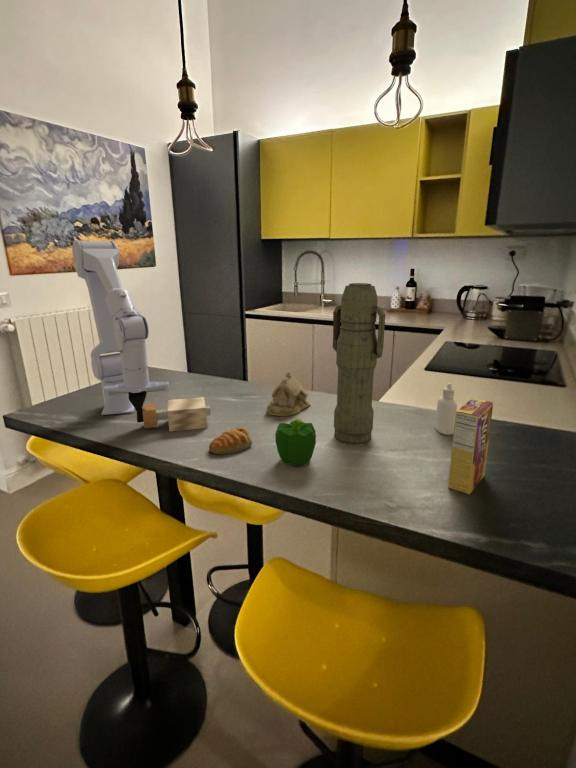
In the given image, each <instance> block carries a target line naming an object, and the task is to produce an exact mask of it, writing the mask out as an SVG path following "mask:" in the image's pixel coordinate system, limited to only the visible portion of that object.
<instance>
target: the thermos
mask: <svg viewBox="0 0 576 768" xmlns="http://www.w3.org/2000/svg"><path fill="white" fill-rule="evenodd" d="M340 299H341V300H340V305H337V306H336V307H335V309H334V310H333V314H332V315H333V316H332V324H333V325H332V329H333V330H332V331H333V332H332V335H333V336H332V349H333V350H334V352H336V357H335V358H336V359H335V360H336V361H335V364H336V366H337V395H336V405H335V407H334V410H333V412H334V413H333V428H334V435H333V437H334V440H336V441H337V442H338V443H340V444H344V445H346V446H347V445H348V446H362V445H366V444H368V443H370V442H371V441H372V432H373V428H374V416H375V415H374V407H373V389H374V374H375V368H376V366H377V361H378V360H377V359H380V358H382V356H383V352H384V341H385V339H384V338H385V327H386V326H385V325H386V314H385V312H384V310H383V308H382V307H381V308H380V306H378V301H379V300H378V299H379V298H378V295H377V289H376V287H375V285H372V283H368V282H367V283H364V282H363V283H362V282H352V283H349V284H348V285H345V287H344V289H343V292H342V296H341V298H340ZM377 315H378V317H379V318H378V329H376V323H377ZM376 332H377V334H376Z"/></svg>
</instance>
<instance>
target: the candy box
mask: <svg viewBox="0 0 576 768" xmlns="http://www.w3.org/2000/svg"><path fill="white" fill-rule="evenodd" d="M493 408H494V402H493V401H488V400H483V399H479V398H471V399H469V400H468V401H467V402H466V403H465V404H464V405H462V406H461V407H460V408H457V411H456V414H455V425H454V433H453V434H452V435H453V436H452V445H451V454H450V464H449V465H450V466H449V474H448V485H447V487H448V489H452V490H454V491H457V492H460V493H463V494H465V495H471V493H472V492H473V491H474V490H475V488H476V487H477V486H478V484H479V483H480V482H481V481H482V480H483V478H484V477H485V474H486V467H487V466H486V465H487V459H488V450H489V449H488V448H489V442H490V433H491V426H492V417H493Z"/></svg>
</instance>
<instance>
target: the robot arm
mask: <svg viewBox="0 0 576 768" xmlns="http://www.w3.org/2000/svg"><path fill="white" fill-rule="evenodd" d="M71 247H72V248H71V250H72V259H73V263H74V264H73V265H74V268H75V272H76V274H77V277H78V278H81V279H83V280H84V281H85V285H86V286H87V290H88V294H89V299H90V303H91V309H92V313H93V317H94V322H95V327H96V332H97V336H98V341H99V343H98V344H97V345H96V346H95V347H94V348H93V349H92V350H91V353H90V359H91V364H90V365H91V370H92V373H93V376H94V377H95V378H96V380H97V381H100V384H101V390H102V397H103V405H104V407H103V408H102V411H101V416H104V415H105V416H106V415H117V414H118V415H119V414H129V413H134V411H136V421H137V423H138V424H139V423H144V420H143V405H144V403H145V401H146V398H147V393H154V392H165V393H169V392H170V384H169V381H150V376H149V364H148V356H147V355H148V354H147V346H146V345H147V344H146V340H147V339H148V338H149V325H148V324H149V323H148V321H147V318H146V317H145V315H143V313H141V311H138V310H137V308H136V305H135V303H134V300H133V298H132V296H131V293H130V292H129V290H127V289H124V288H123V285H122V281H121V279H120V276H119V273H118V267H119V263H120V250H119V247H118V245H117V244H116V242H115V241H114V240H110V241H109V240H108V241H105V240H104V241H101V240H95V241H94V240H91V241H90V240H79V239H77V240H74V242H72V246H71ZM110 353H111V354H110Z"/></svg>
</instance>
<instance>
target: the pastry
mask: <svg viewBox="0 0 576 768" xmlns="http://www.w3.org/2000/svg"><path fill="white" fill-rule="evenodd" d="M252 445H253V440H252V437H251V435H250V434H249V431H248V430H247V429H246V428H244V427H236V428H235V429H231V430H226V431H223V432H222V434H221V435H219V436H218V437H217V436H216V437H215V438H214V439H212V441H211V442H210V443H209V447H208V448H209V449H208V451H209V452H211V453H213V454H216V455H224V454H226V455H227V454H234V453H236V452H239V451H243V450H246V449H248V448H250V447H251V446H252Z"/></svg>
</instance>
